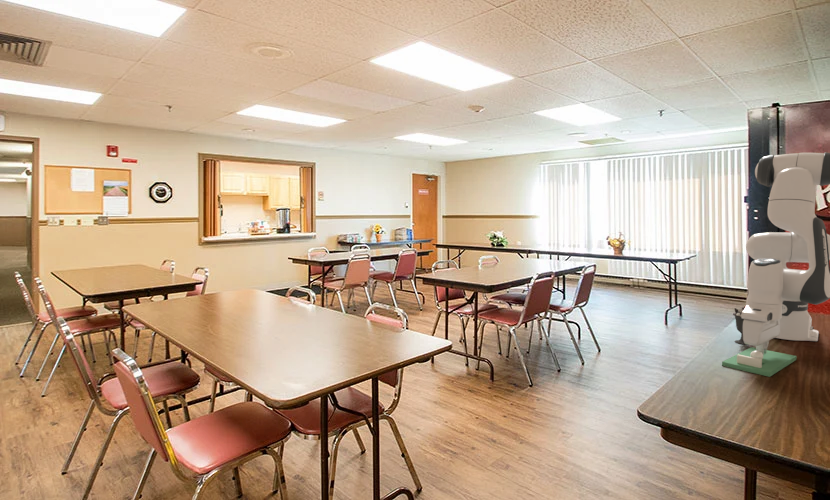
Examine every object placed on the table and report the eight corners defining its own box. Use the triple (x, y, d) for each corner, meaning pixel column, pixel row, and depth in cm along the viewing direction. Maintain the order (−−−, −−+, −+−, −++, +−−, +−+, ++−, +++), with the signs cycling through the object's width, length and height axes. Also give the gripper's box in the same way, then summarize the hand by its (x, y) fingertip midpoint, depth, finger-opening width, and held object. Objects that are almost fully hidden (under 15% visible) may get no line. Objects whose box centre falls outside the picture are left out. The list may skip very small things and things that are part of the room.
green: (751, 350, 151) (751, 340, 151) (796, 359, 141) (797, 348, 141) (722, 365, 137) (722, 354, 137) (769, 376, 127) (770, 364, 127)
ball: (750, 361, 139) (753, 352, 140) (763, 364, 136) (765, 354, 137) (747, 356, 137) (750, 347, 138) (760, 359, 134) (763, 350, 135)
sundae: (758, 345, 156) (761, 303, 154) (737, 345, 157) (739, 303, 156) (748, 340, 162) (750, 300, 161) (728, 339, 163) (730, 299, 162)
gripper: (763, 305, 147) (761, 345, 148) (739, 313, 135) (736, 358, 136) (787, 308, 142) (785, 350, 143) (764, 317, 130) (761, 363, 131)
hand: (761, 354), depth 139 cm, fingers closed
